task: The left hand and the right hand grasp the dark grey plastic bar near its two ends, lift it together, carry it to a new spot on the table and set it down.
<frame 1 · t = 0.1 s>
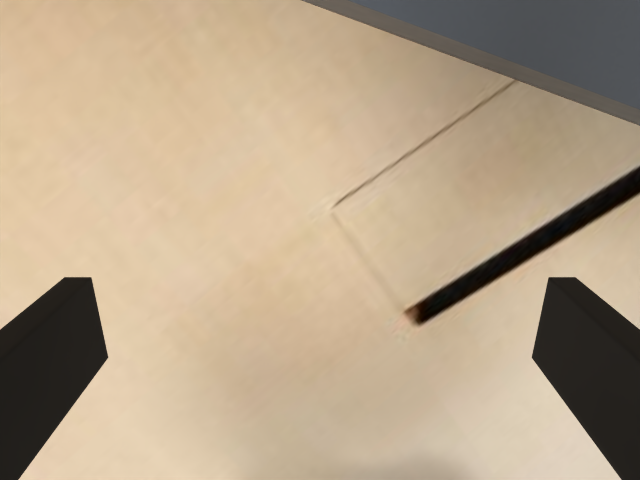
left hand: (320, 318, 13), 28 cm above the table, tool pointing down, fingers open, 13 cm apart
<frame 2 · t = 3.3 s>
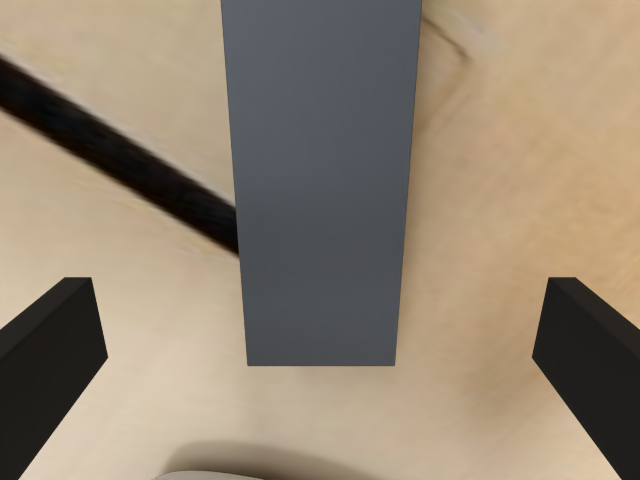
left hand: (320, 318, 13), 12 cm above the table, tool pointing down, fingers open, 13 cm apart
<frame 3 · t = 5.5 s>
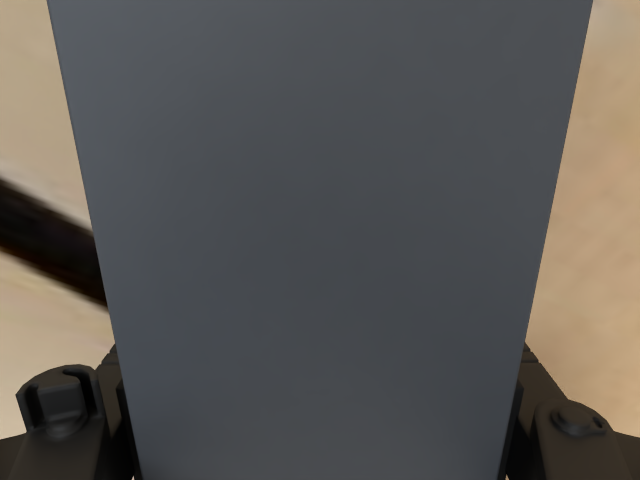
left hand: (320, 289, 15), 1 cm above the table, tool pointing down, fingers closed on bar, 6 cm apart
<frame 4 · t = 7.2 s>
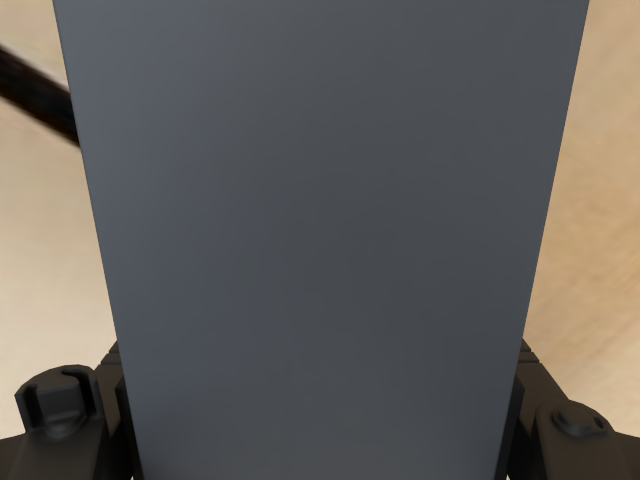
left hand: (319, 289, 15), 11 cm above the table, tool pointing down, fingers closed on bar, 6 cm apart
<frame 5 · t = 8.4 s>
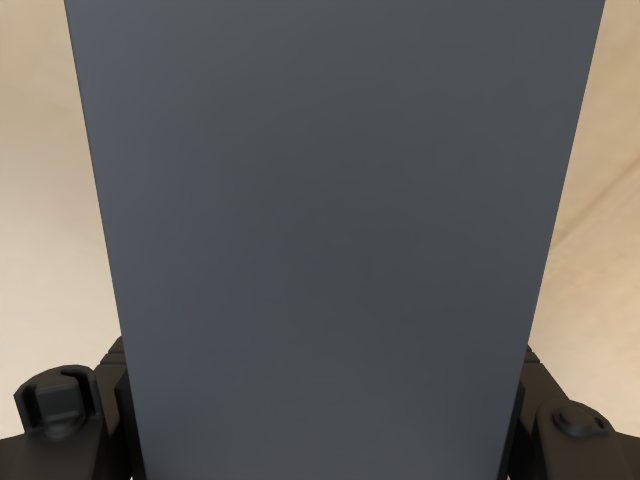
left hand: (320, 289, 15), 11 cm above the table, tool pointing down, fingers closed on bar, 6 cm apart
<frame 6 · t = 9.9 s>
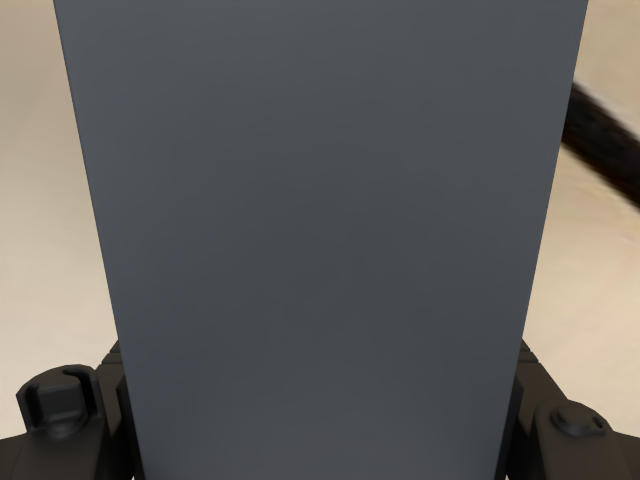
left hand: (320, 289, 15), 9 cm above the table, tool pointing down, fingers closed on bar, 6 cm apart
when the left hand's fingers open (2 cm above the table, at t = 11.2 s): bar stays where it is, on the table.
when the right hand's fingers open (2 cm above the table, at t = 11.2 s): bar stays where it is, on the table.
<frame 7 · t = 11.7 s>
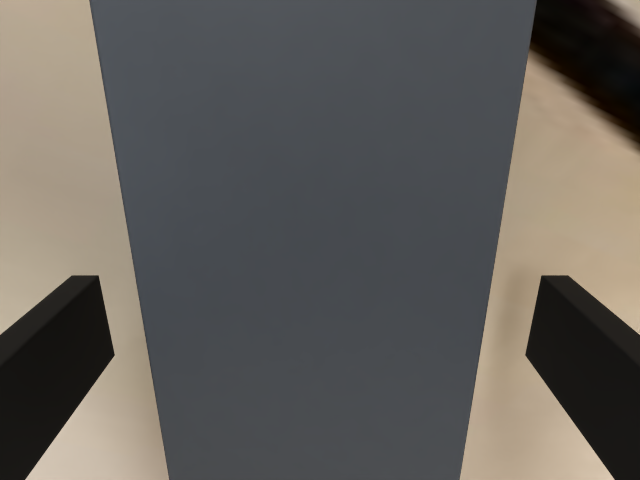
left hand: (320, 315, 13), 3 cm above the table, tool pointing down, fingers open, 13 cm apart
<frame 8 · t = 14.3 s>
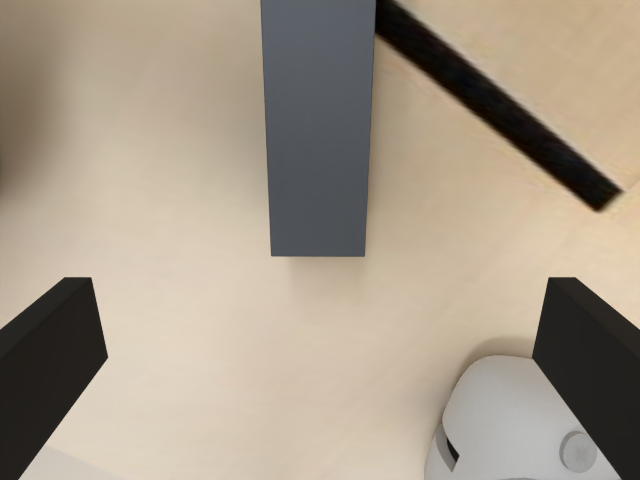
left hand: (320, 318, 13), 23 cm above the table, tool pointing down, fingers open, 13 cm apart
projector: (541, 416, 43), on the table
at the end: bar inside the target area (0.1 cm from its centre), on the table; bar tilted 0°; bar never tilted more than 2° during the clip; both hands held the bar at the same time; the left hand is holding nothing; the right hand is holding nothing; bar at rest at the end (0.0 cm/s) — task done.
